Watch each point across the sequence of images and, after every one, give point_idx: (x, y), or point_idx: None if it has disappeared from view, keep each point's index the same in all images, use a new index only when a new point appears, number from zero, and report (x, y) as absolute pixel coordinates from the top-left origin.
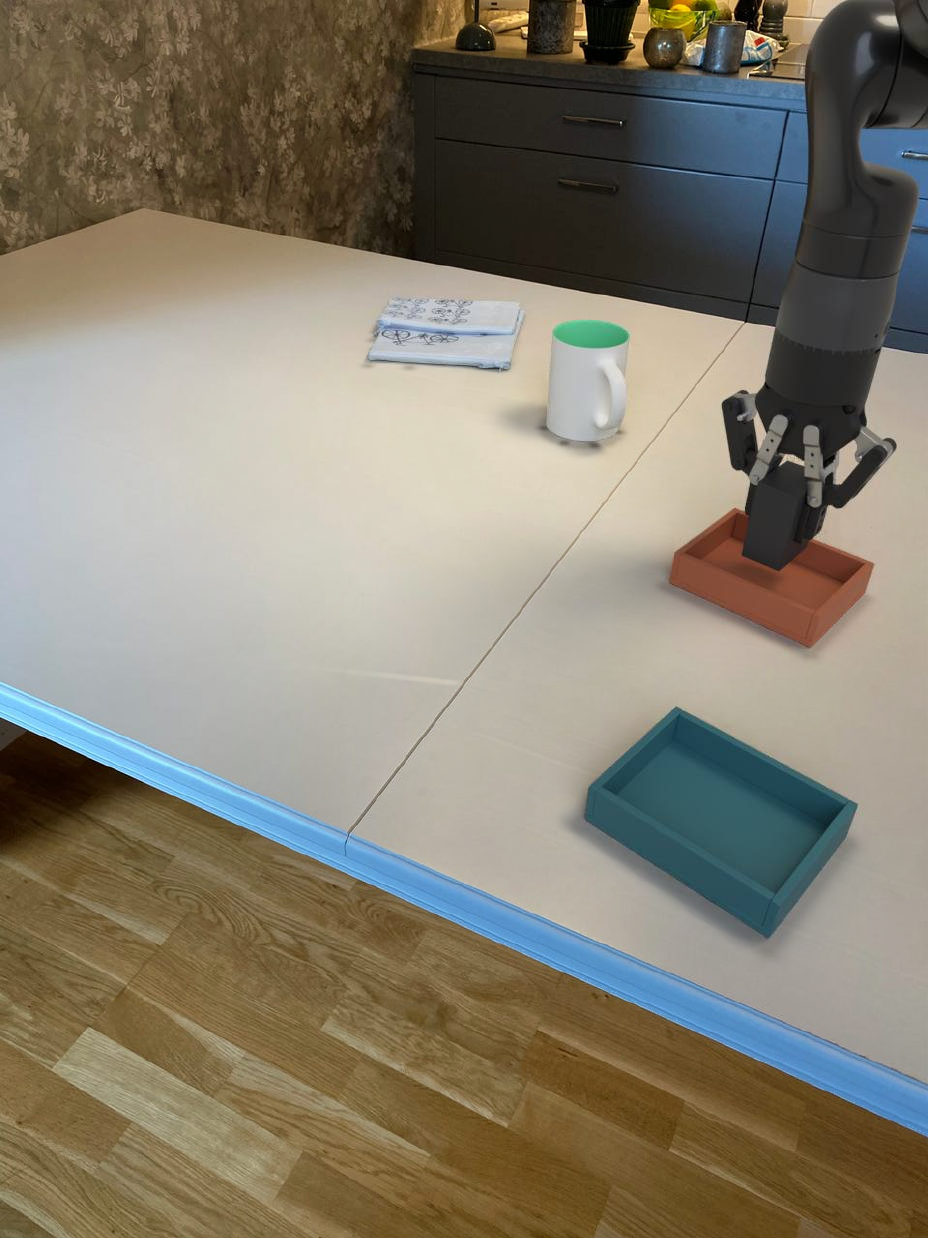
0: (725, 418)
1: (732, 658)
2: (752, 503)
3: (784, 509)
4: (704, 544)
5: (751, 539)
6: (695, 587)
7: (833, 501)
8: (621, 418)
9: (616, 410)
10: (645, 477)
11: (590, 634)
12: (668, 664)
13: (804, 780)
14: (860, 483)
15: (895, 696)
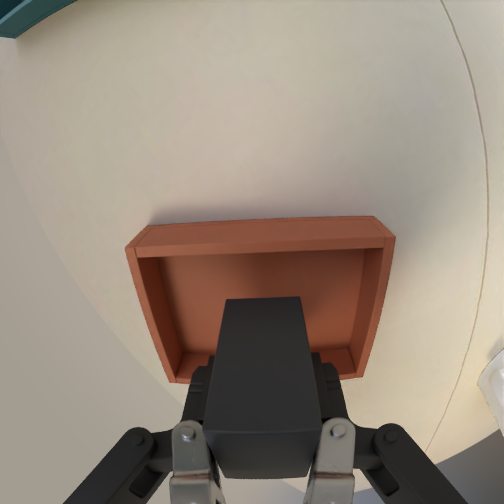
0: (457, 498)
1: (201, 124)
2: (324, 383)
3: (233, 395)
4: (368, 299)
5: (290, 321)
6: (335, 220)
7: (146, 439)
8: (493, 386)
9: (502, 387)
10: (453, 357)
11: (381, 39)
12: (261, 47)
13: (18, 6)
14: (91, 477)
15: (55, 221)
